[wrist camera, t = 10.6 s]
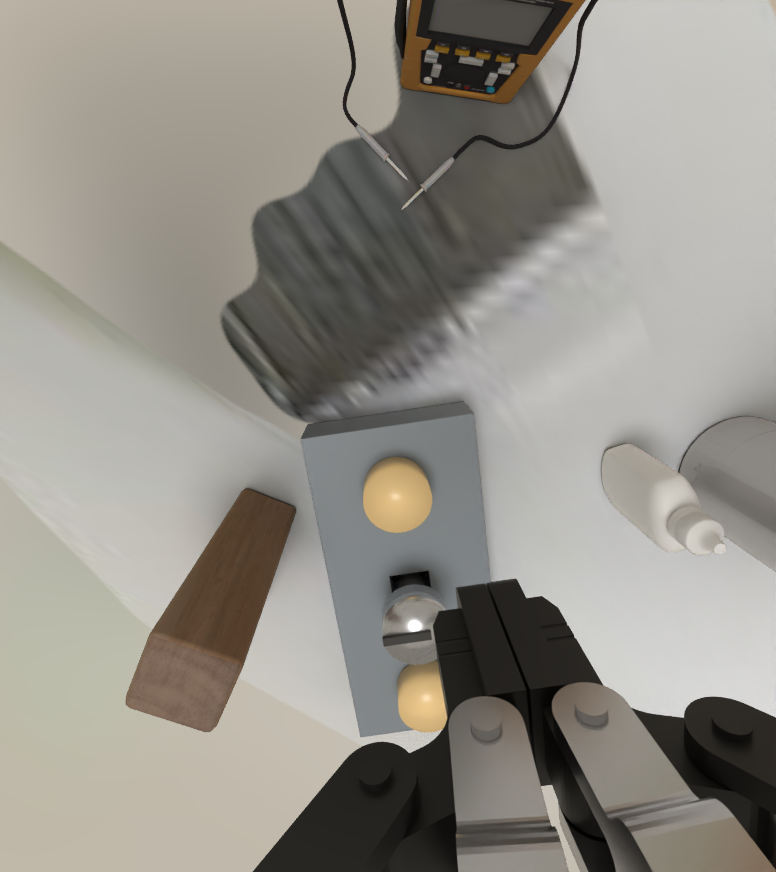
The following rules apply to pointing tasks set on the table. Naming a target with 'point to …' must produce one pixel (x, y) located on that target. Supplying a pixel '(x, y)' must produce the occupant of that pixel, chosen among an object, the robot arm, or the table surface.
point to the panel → (393, 534)
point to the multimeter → (473, 53)
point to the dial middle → (411, 620)
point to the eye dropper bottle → (659, 502)
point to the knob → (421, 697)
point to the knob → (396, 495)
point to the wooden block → (213, 617)
